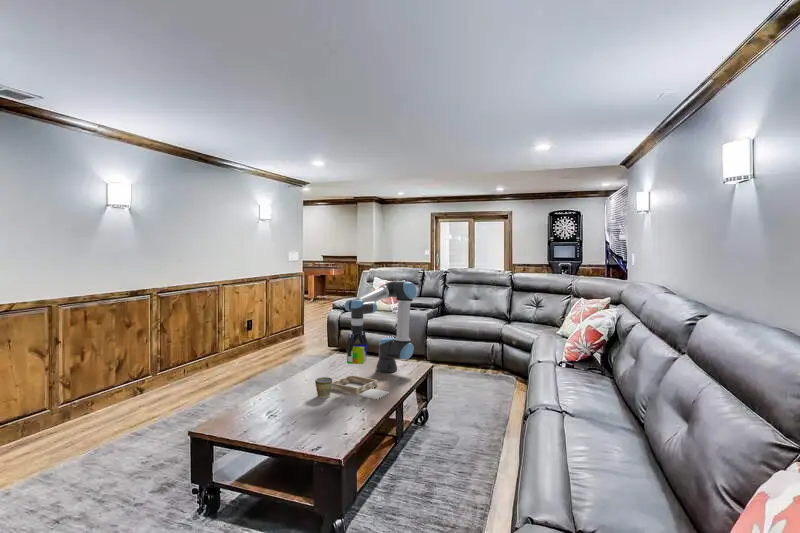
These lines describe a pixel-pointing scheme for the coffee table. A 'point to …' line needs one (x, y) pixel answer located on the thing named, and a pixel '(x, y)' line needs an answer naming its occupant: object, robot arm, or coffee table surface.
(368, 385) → the bin
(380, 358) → the robot arm
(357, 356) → the puzzle toy
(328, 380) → the ceramic cup
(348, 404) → the coffee table surface
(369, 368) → the coffee table surface
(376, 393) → the pad
